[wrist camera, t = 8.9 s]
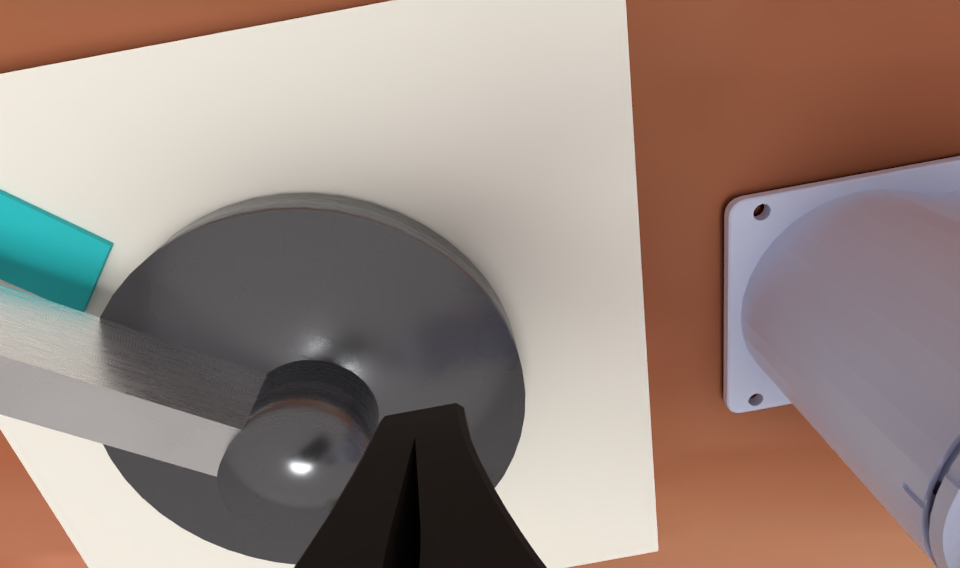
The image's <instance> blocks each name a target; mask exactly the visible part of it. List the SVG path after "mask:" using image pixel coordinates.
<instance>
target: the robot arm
mask: <svg viewBox="0 0 960 568" xmlns="http://www.w3.org/2000/svg"><path fill="white" fill-rule="evenodd" d="M761 204H764V210H763V212H762V213H761V214H760V215H757V216H754V215H753V213H754V210H755V208H756V207H757V206H758V205H761ZM756 393H757V395H756V396H755V397H754V398H752V399H749V398H750V397H751V396H752V395H754V394H756ZM723 399H724V403H725V404H726V406H727V407H728V409H729V410H730V411H732V412H735V413H743V412H748V411H754V410H759V409H765V408H770V407H776V406H781V405H787V404H793V405H794V406H795V407H796V408H797V410H798V411H799V412H800V413H801V414H802V415H803V416H804V417H805V419H806V420H807V421H808V422H809V423H810V424H811V425H812V427H813V428H814V429H815V430H816V431H817V432H818V433H819V434H820V436H821V437H822V438H823V439H824V440H825V441H826V442H827V443H828V445H829V446H830V447H831V448H832V449H833V450H834V451H835V453H836V454H837V455H838V456H839V457H840V458H841V459H842V460H843V462H844V463H845V464H846V465H847V466H848V467H849V468H850V470H851V471H852V472H853V473H854V474H855V475H856V476H857V477H858V479H859V480H860V481H861V482H862V483H863V484H864V485H865V486H866V488H867V489H868V490H869V491H870V492H871V493H872V494H873V496H874V497H875V498H876V499H877V500H878V501H879V502H880V503H881V505H882V506H883V507H884V508H885V509H886V510H887V511H888V512H889V514H890V515H891V516H892V517H893V518H894V519H895V520H896V522H897V523H898V524H899V525H900V526H901V527H902V528H903V529H904V531H905V532H906V533H907V534H908V535H909V536H910V537H911V538H912V540H913V541H914V542H915V543H916V544H917V545H918V546H919V548H920V549H921V550H922V551H923V552H924V553H925V554H926V555H927V557H928V558H929V559H930V560H931V561H932V562H933V563H934V565H935V566H936V567H938V568H960V156H956V157H951V158H945V159H940V160H934V161H929V162H923V163H918V164H913V165H907V166H902V167H896V168H891V169H885V170H880V171H875V172H869V173H864V174H858V175H853V176H847V177H842V178H836V179H831V180H826V181H820V182H815V183H809V184H804V185H798V186H793V187H788V188H782V189H777V190H771V191H766V192H760V193H755V194H749V195H744V196H740V197H737V198H734V199H733V200H732V201H731V202H729V204H728V205H727V207H726V209H725V214H724V392H723ZM294 568H547V567H546V566H545V564H544V563H543V562H542V560H541V559H540V558H539V556H538V555H537V554H536V552H535V551H534V549H533V548H532V547H531V545H530V544H529V542H528V541H527V539H526V538H525V537H524V535H523V534H522V532H521V531H520V529H519V528H518V526H517V524H516V523H515V521H514V520H513V518H512V517H511V515H510V513H509V512H508V510H507V509H506V507H505V505H504V504H503V502H502V500H501V499H500V497H499V495H498V494H497V492H496V490H495V488H494V486H493V484H492V482H491V481H490V479H489V477H488V475H487V473H486V471H485V469H484V467H483V465H482V463H481V461H480V459H479V457H478V455H477V452H476V450H475V448H474V445H473V443H472V440H471V437H470V432H469V428H468V423H467V419H466V414H465V410H464V407H462V406H461V405H459V404H457V403H453V404H447V405H442V406H436V407H431V408H425V409H420V410H414V411H409V412H403V413H398V414H392V415H387V416H384V418H383V419H382V420H381V421H380V423H379V425H378V427H377V429H376V431H375V433H374V435H373V437H372V439H371V441H370V442H369V444H368V446H367V448H366V450H365V452H364V454H363V456H362V458H361V460H360V461H359V463H358V465H357V467H356V469H355V470H354V472H353V474H352V476H351V478H350V479H349V481H348V483H347V484H346V486H345V488H344V490H343V491H342V493H341V495H340V496H339V498H338V500H337V502H336V503H335V505H334V507H333V508H332V510H331V512H330V513H329V515H328V517H327V518H326V520H325V521H324V523H323V524H322V526H321V527H320V529H319V530H318V532H317V533H316V535H315V536H314V538H313V539H312V541H311V543H310V544H309V546H308V547H307V549H306V550H305V552H304V553H303V555H302V556H301V558H300V559H299V561H298V562H297V564H296V565H295V566H294Z"/></svg>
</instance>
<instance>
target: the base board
mask: <svg viewBox="0 0 960 568" xmlns="http://www.w3.org/2000/svg"><path fill="white" fill-rule="evenodd" d="M307 193H312V194H323V195H334V196H343V197H347V198H352V199H356V200H361V201H365V202H370V203H373V204H376V205H379V206H382V207H385V208H387V209H390V210H393V211H396V212H399V213H401V214H403V215H405V216H407V217H409V218H411V219H413V220H415V221H417V222H419V223H421V224H423V225H425V226H426V227H428V228H429V229H431V230H432V231H434V232H435V233H437V234H439V235H440V236H442V237H443V238H445V239H446V240H448V241H449V242H450V243H451V244H452V245H453V246H455V247H456V248H457V249H458V250H459V251H460V252H461V253H463V254H464V255H465V256H466V257H467V258H468V259H469V260H470V261H471V262H472V263H473V264H474V265H475V267H476V268H477V269H478V270H479V271H480V272H481V273H482V275H483V276H484V277H485V278H486V279H487V281H488V282H489V284H490V285H491V287H492V289H493V290H494V292H495V293H496V295H497V296H498V298H499V299H500V301H501V304H502V306H503V308H504V310H505V312H506V314H507V316H508V319H509V321H510V324H511V328H512V331H513V334H514V338H515V341H516V345H517V349H518V353H519V358H520V362H521V366H522V371H523V378H524V385H525V417H524V422H523V428H522V433H521V437H520V440H519V443H518V446H517V449H516V452H515V455H514V457H513V459H512V461H511V463H510V465H509V467H508V469H507V471H506V473H505V474H504V476H503V478H502V479H501V480H500V482H499V483H498V485H497V486H496V487H495V490H496V492H497V494H498V495H499V497H500V499H501V500H502V502H503V504H504V505H505V507H506V509H507V510H508V512H509V513H510V515H511V517H512V518H513V520H514V521H515V523H516V524H517V526H518V528H519V529H520V531H521V532H522V534H523V535H524V537H525V538H526V539H527V541H528V542H529V544H530V545H531V547H532V548H533V549H534V551H535V552H536V554H537V555H538V556H539V558H540V559H541V560H542V562H543V563H544V564H545V566H546V567H547V568H567V567H572V566H578V565H583V564H589V563H595V562H600V561H606V560H611V559H617V558H622V557H628V556H634V555H639V554H645V553H650V552H656V551H658V535H657V519H656V502H655V485H654V468H653V451H652V434H651V418H650V401H649V384H648V367H647V350H646V333H645V317H644V300H643V283H642V266H641V249H640V233H639V216H638V199H637V182H636V165H635V148H634V132H633V115H632V98H631V81H630V64H629V47H628V31H627V14H626V0H392V1H387V2H382V3H376V4H371V5H366V6H360V7H355V8H350V9H344V10H339V11H334V12H328V13H323V14H318V15H312V16H307V17H302V18H296V19H291V20H286V21H280V22H275V23H270V24H264V25H259V26H254V27H248V28H243V29H238V30H232V31H227V32H222V33H216V34H211V35H206V36H200V37H195V38H190V39H184V40H179V41H174V42H168V43H163V44H158V45H152V46H147V47H142V48H136V49H131V50H126V51H120V52H115V53H110V54H104V55H99V56H93V57H88V58H83V59H77V60H72V61H67V62H61V63H56V64H51V65H45V66H40V67H35V68H29V69H24V70H19V71H13V72H8V73H3V74H0V284H1V285H4V286H7V287H10V288H13V289H16V290H19V291H22V292H25V293H28V294H31V295H34V296H37V297H40V298H43V299H46V300H49V301H52V302H55V303H58V304H61V305H64V306H66V307H69V308H72V309H75V310H78V311H81V312H84V313H87V314H90V315H93V316H96V317H99V318H100V316H101V315H102V313H103V311H104V309H105V307H106V306H107V304H108V302H109V300H110V299H111V297H112V295H113V294H114V293H115V292H116V290H117V289H118V288H119V287H120V285H121V284H122V283H123V282H124V280H125V279H126V278H127V277H128V276H129V274H130V273H132V272H133V271H134V270H135V269H136V268H137V267H138V266H139V265H140V264H141V263H142V262H143V261H145V260H146V259H147V258H148V257H149V256H150V255H151V254H152V253H153V252H154V251H156V250H157V249H158V248H159V247H160V246H161V245H162V244H163V243H165V242H166V241H167V240H168V239H169V238H170V237H171V236H172V235H174V234H175V233H177V232H178V231H180V230H181V229H183V228H184V227H186V226H187V225H189V224H190V223H192V222H194V221H195V220H197V219H199V218H201V217H203V216H205V215H207V214H210V213H212V212H214V211H216V210H218V209H221V208H223V207H226V206H229V205H233V204H236V203H239V202H243V201H246V200H250V199H255V198H261V197H267V196H273V195H280V194H307ZM0 429H1V431H2V433H3V434H4V436H5V437H6V439H7V440H8V442H9V444H10V445H11V447H12V448H13V450H14V451H15V453H16V454H17V456H18V458H19V459H20V461H21V462H22V464H23V465H24V467H25V469H26V470H27V472H28V473H29V475H30V476H31V478H32V480H33V481H34V483H35V484H36V486H37V487H38V489H39V491H40V492H41V494H42V495H43V497H44V498H45V500H46V502H47V503H48V505H49V506H50V508H51V509H52V511H53V513H54V514H55V516H56V517H57V519H58V520H59V522H60V524H61V525H62V527H63V528H64V530H65V531H66V533H67V535H68V536H69V538H70V539H71V541H72V542H73V544H74V545H75V547H76V549H77V550H78V552H79V553H80V555H81V556H82V558H83V560H84V561H85V563H86V564H87V566H88V567H89V568H294V566H295V565H294V564H286V563H277V562H272V561H267V560H262V559H258V558H253V557H249V556H246V555H243V554H240V553H236V552H233V551H230V550H227V549H224V548H222V547H220V546H217V545H215V544H212V543H210V542H208V541H205V540H203V539H201V538H199V537H197V536H196V535H194V534H192V533H190V532H188V531H186V530H185V529H183V528H181V527H179V526H178V525H177V524H175V523H174V522H172V521H171V520H169V519H168V518H166V517H165V516H163V515H162V514H160V513H159V512H158V511H157V510H156V509H155V508H153V507H152V506H151V505H150V504H149V503H148V502H146V501H145V500H144V499H143V498H142V497H141V496H140V495H139V494H138V493H137V492H136V491H135V490H134V488H133V487H132V486H131V485H130V484H129V483H128V482H127V481H126V480H125V479H124V477H123V476H122V474H121V473H120V472H119V470H118V469H117V467H116V466H115V465H114V463H113V462H112V460H111V459H110V457H109V455H108V453H107V451H106V449H105V447H104V445H103V444H101V443H98V442H94V441H91V440H87V439H84V438H80V437H77V436H73V435H70V434H67V433H63V432H60V431H56V430H53V429H49V428H46V427H42V426H39V425H35V424H32V423H28V422H25V421H21V420H18V419H14V418H11V417H7V416H4V415H0Z"/></svg>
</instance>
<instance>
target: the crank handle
mask: <svg viewBox="0 0 960 568" xmlns="http://www.w3.org/2000/svg"><path fill="white" fill-rule="evenodd" d="M453 403H457V404H459V405H461V406H462V407H464V410H465V414H466V419H467V423H468V428H469V432H470V437H471V440H472V443H473V445H474V448H475V450H476V452H477V455H478V457H479V459H480V461H481V463H482V465H483V467H484V469H485V471H486V473H487V475H488V477H489V479H490V481H491V482H492V484H493V486H494V488H495V487H496V486H497V485H498V483H499V482H500V480H501V479H502V478H503V476H504V474H505V473H506V471H507V469H508V467H509V465H510V463H511V461H512V459H513V457H514V455H515V452H516V449H517V446H518V443H519V440H520V437H521V433H522V428H523V422H524V417H525V385H524V378H523V371H522V366H521V362H520V358H519V353H518V349H517V345H516V341H515V338H514V334H513V331H512V328H511V324H510V321H509V319H508V316H507V314H506V312H505V310H504V308H503V306H502V304H501V301H500V299H499V298H498V296H497V295H496V293H495V292H494V290H493V289H492V287H491V285H490V284H489V282H488V281H487V279H486V278H485V277H484V276H483V275H482V273H481V272H480V271H479V270H478V269H477V268H476V267H475V265H474V264H473V263H472V262H471V261H470V260H469V259H468V258H467V257H466V256H465V255H464V254H463V253H461V252H460V251H459V250H458V249H457V248H456V247H455V246H453V245H452V244H451V243H450V242H449V241H448V240H446V239H445V238H443V237H442V236H440V235H439V234H437V233H435V232H434V231H432V230H431V229H429V228H428V227H426V226H425V225H423V224H421V223H419V222H417V221H415V220H413V219H411V218H409V217H407V216H405V215H403V214H401V213H399V212H396V211H393V210H390V209H387V208H385V207H382V206H379V205H376V204H373V203H370V202H365V201H361V200H356V199H352V198H347V197H343V196H334V195H323V194H312V193H307V194H280V195H273V196H267V197H261V198H255V199H250V200H246V201H243V202H239V203H236V204H233V205H229V206H226V207H223V208H221V209H218V210H216V211H214V212H212V213H210V214H207V215H205V216H203V217H201V218H199V219H197V220H195V221H194V222H192V223H190V224H189V225H187V226H186V227H184V228H183V229H181V230H180V231H178V232H177V233H175V234H174V235H172V236H171V237H170V238H169V239H168V240H167V241H166V242H165V243H163V244H162V245H161V246H160V247H159V248H158V249H157V250H156V251H154V252H153V253H152V254H151V255H150V256H149V257H148V258H147V259H146V260H145V261H143V262H142V263H141V264H140V265H139V266H138V267H137V268H136V269H135V270H134V271H133V272H132V273H130V274H129V276H128V277H127V278H126V279H125V280H124V282H123V283H122V284H121V285H120V287H119V288H118V289H117V290H116V292H115V293H114V294H113V295H112V297H111V299H110V300H109V302H108V304H107V306H106V307H105V309H104V311H103V313H102V315H101V316H100V318H99V317H96V316H93V315H90V314H87V313H84V312H81V311H78V310H75V309H72V308H69V307H66V306H64V305H61V304H58V303H55V302H52V301H49V300H46V299H43V298H40V297H37V296H34V295H31V294H28V293H25V292H22V291H19V290H16V289H13V288H10V287H7V286H4V285H1V284H0V415H4V416H7V417H11V418H14V419H18V420H21V421H25V422H28V423H32V424H35V425H39V426H42V427H46V428H49V429H53V430H56V431H60V432H63V433H67V434H70V435H73V436H77V437H80V438H84V439H87V440H91V441H94V442H98V443H101V444H103V445H104V447H105V449H106V451H107V453H108V455H109V457H110V459H111V460H112V462H113V463H114V465H115V466H116V467H117V469H118V470H119V472H120V473H121V474H122V476H123V477H124V479H125V480H126V481H127V482H128V483H129V484H130V485H131V486H132V487H133V488H134V490H135V491H136V492H137V493H138V494H139V495H140V496H141V497H142V498H143V499H144V500H145V501H146V502H148V503H149V504H150V505H151V506H152V507H153V508H155V509H156V510H157V511H158V512H159V513H160V514H162V515H163V516H165V517H166V518H168V519H169V520H171V521H172V522H174V523H175V524H177V525H178V526H179V527H181V528H183V529H185V530H186V531H188V532H190V533H192V534H194V535H196V536H197V537H199V538H201V539H203V540H205V541H208V542H210V543H212V544H215V545H217V546H220V547H222V548H224V549H227V550H230V551H233V552H236V553H240V554H243V555H246V556H249V557H253V558H258V559H262V560H267V561H272V562H277V563H286V564H294V565H296V564H297V562H298V561H299V559H300V558H301V556H302V555H303V553H304V552H305V550H306V549H307V547H308V546H309V544H310V543H311V541H312V539H313V538H314V536H315V535H316V533H317V532H318V530H319V529H320V527H321V526H322V524H323V523H324V521H325V520H326V518H327V517H328V515H329V513H330V512H331V510H332V508H333V507H334V505H335V503H336V502H337V500H338V498H339V496H340V495H341V493H342V491H343V490H344V488H345V486H346V484H347V483H348V481H349V479H350V478H351V476H352V474H353V472H354V470H355V469H356V467H357V465H358V463H359V461H360V460H361V458H362V456H363V454H364V452H365V450H366V448H367V446H368V444H369V442H370V441H371V439H372V437H373V435H374V433H375V431H376V429H377V427H378V425H379V423H380V421H381V420H382V419H383V418H384V416H387V415H392V414H398V413H403V412H409V411H414V410H420V409H425V408H431V407H436V406H442V405H447V404H453Z"/></svg>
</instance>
